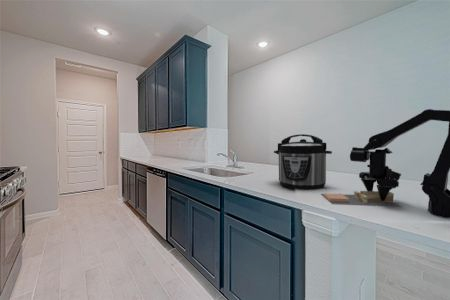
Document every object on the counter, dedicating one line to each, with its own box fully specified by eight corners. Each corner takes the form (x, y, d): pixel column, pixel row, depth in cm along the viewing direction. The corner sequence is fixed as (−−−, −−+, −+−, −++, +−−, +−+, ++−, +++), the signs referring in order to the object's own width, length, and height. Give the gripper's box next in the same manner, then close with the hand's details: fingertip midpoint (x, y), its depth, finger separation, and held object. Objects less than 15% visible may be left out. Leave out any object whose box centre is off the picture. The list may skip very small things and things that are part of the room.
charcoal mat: (402, 209, 81) (402, 206, 81) (332, 206, 85) (332, 204, 85) (378, 197, 97) (378, 195, 97) (320, 195, 101) (320, 193, 101)
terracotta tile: (349, 199, 87) (330, 198, 88) (349, 202, 87) (329, 201, 88) (341, 193, 95) (323, 193, 96) (341, 197, 95) (323, 196, 96)
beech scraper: (398, 204, 84) (398, 195, 83) (364, 203, 85) (364, 194, 85) (384, 198, 92) (384, 189, 92) (353, 197, 94) (354, 189, 94)
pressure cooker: (266, 183, 129) (266, 134, 127) (298, 178, 142) (298, 134, 140) (303, 195, 102) (304, 133, 100) (338, 188, 115) (339, 133, 113)
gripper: (414, 166, 77) (412, 205, 78) (384, 160, 96) (382, 192, 97) (383, 166, 79) (381, 204, 80) (359, 160, 97) (358, 191, 98)
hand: (376, 197), depth 89 cm, fingers open, 9 cm apart
